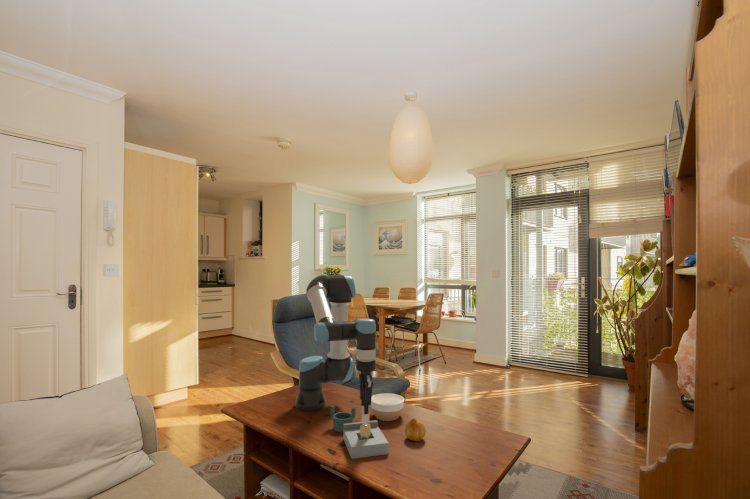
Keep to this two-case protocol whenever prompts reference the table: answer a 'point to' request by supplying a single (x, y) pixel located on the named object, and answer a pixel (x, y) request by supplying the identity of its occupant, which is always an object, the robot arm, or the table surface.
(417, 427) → the fruit
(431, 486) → the table surface
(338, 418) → the bracket
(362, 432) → the brass cylinder
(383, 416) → the bowl
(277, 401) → the table surface
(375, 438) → the jig
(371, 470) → the table surface
